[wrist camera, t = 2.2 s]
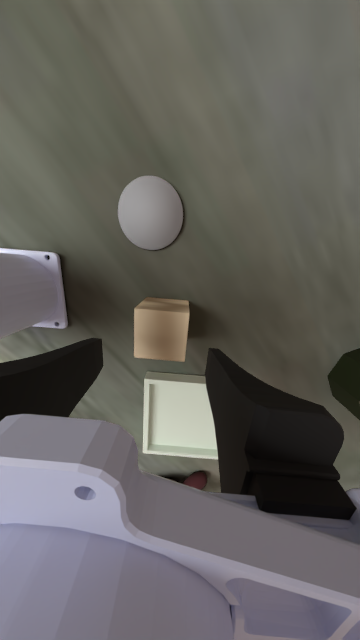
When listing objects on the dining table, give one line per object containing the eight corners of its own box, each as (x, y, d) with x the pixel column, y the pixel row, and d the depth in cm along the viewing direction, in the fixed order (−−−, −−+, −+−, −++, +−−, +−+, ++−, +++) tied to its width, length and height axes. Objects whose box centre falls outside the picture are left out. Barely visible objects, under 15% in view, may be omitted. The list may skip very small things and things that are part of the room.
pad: (119, 247, 18) (118, 247, 17) (118, 174, 16) (116, 172, 15) (180, 252, 18) (180, 252, 17) (185, 180, 16) (185, 178, 15)
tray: (145, 442, 26) (142, 453, 24) (147, 371, 22) (144, 378, 21) (227, 449, 26) (230, 460, 24) (243, 379, 22) (248, 387, 21)
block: (145, 335, 21) (134, 357, 16) (146, 296, 19) (134, 308, 14) (184, 338, 21) (184, 361, 16) (188, 300, 19) (189, 313, 14)
